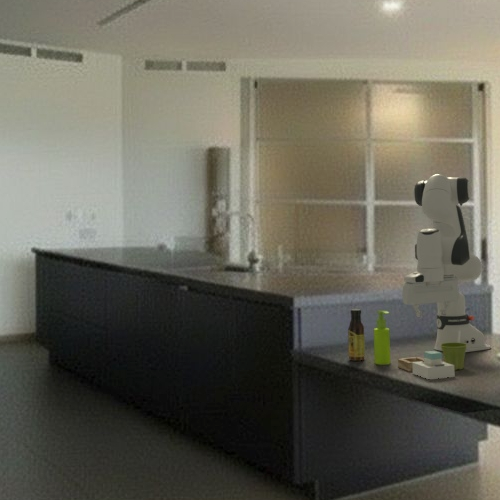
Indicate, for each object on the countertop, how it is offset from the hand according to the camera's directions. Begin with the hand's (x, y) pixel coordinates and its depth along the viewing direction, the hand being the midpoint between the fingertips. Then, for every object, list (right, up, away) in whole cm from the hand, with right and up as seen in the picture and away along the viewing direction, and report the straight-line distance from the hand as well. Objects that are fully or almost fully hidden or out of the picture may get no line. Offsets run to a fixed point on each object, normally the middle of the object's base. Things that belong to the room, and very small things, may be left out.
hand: (431, 316), depth 260 cm
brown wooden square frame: (-3, -20, +14) cm, 25 cm away
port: (+1, -21, +1) cm, 21 cm away
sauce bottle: (-21, -20, +34) cm, 45 cm away
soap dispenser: (-12, -20, +25) cm, 35 cm away
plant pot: (+11, -20, +11) cm, 25 cm away
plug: (+1, -21, +1) cm, 21 cm away
